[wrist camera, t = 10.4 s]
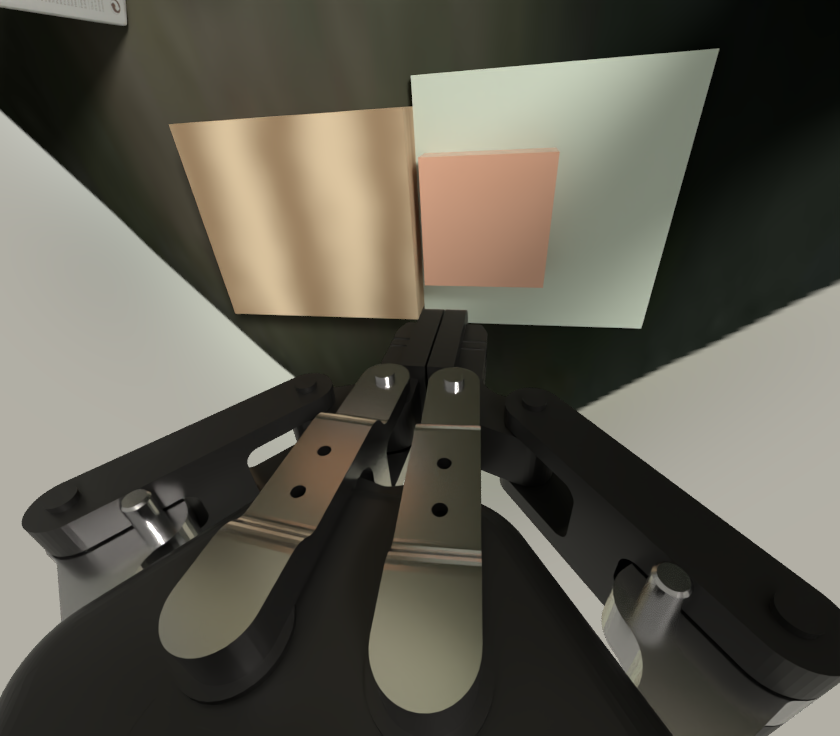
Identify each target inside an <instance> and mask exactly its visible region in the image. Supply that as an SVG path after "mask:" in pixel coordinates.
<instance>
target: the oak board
mask: <svg viewBox="0 0 840 736" xmlns="http://www.w3.org/2000/svg"><path fill="white" fill-rule="evenodd" d="M169 126H170V129H171V132H172V135H173V138H174V140H175V143H176V146H177V149H178V152H179V155H180V157H181V160H182V163H183V166H184V169H185V172H186V174H187V177H188V180H189V183H190V186H191V189H192V191H193V194H194V197H195V200H196V203H197V206H198V208H199V211H200V214H201V217H202V220H203V223H204V226H205V228H206V231H207V234H208V237H209V240H210V243H211V245H212V248H213V251H214V254H215V257H216V260H217V262H218V265H219V268H220V271H221V274H222V277H223V279H224V282H225V285H226V288H227V291H228V294H229V296H230V299H231V302H232V305H233V308H234V311H235V313H236V314H265V315H296V316H327V317H359V318H390V319H419V316H420V314H421V312H422V309H423V307H424V287H423V270H422V254H421V237H420V221H419V204H418V188H417V171H416V154H415V138H414V121H413V106H410V107H397V108H383V109H369V110H356V111H342V112H328V113H315V114H301V115H287V116H273V117H260V118H246V119H232V120H219V121H205V122H192V123H180V124H169Z"/></svg>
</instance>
